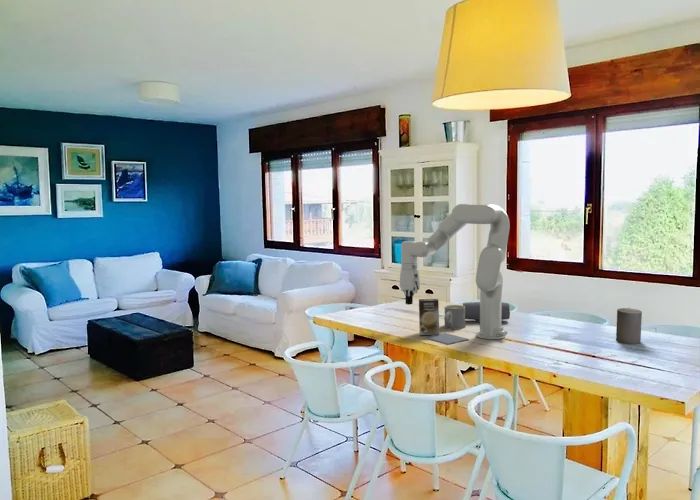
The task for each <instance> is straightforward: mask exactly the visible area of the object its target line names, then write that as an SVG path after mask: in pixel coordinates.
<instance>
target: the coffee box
mask: <svg viewBox="0 0 700 500" xmlns="http://www.w3.org/2000/svg"><path fill="white" fill-rule="evenodd" d="M439 310H440V308H439V299H438V298H422V299H421V298H418V319H419V320H418V321H419V335H420V336H432V335H439V334H440V312H439Z"/></svg>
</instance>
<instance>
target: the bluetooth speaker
mask: <svg viewBox="0 0 700 500" xmlns="http://www.w3.org/2000/svg"><path fill="white" fill-rule="evenodd" d="M462 306H465V320H467V321H468V320H471V321H475V322H476V323H480V301H477V302H474V301H473V302H472V301H471V302H464V303H463V302H462ZM510 316H511V311H510V304H509V303H508V302H502V303H501V321H504V320H510Z"/></svg>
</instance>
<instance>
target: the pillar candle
mask: <svg viewBox="0 0 700 500" xmlns="http://www.w3.org/2000/svg"><path fill="white" fill-rule="evenodd" d="M642 313H643V311H642V310H641V309H636V308H630V307H623V308H617V309H616V330H615V331H616V333H615V336H616V338H615V341H616V342H617V343H620V344H621V343H622V344H625V345H626V344H628V345H638V344H641V339H642V320H643V319H642V316H643V315H642Z"/></svg>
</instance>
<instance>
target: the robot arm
mask: <svg viewBox="0 0 700 500" xmlns="http://www.w3.org/2000/svg"><path fill="white" fill-rule="evenodd" d="M469 224H471V225H472V224H473V225H490V228H489V231H488V232H489V233H488V237H487V244H486V246H485V247H484V248H483V249H482V251H481V252H480V254H479V257H478V262H477V269H476V274H475V285H476V286H477V288H478V289H479V291H480V293H479V302H480V322H479V331H477V332H476V334H475V335H476V338H477V337H478V338H480V339H485V340H500V339H503V338H505V337H506V336H507V335H508V331H507V330H504V327H503V326H502V320H501V303H503V301H502V300H503V299H502V296H503V295H502V294H503V282H504V281H503V279H504V278H503V274H502V272H501V271H500V270H501V265H502V263H503V262H504V261H505V259H506V252H507V249H508V247H507V246H508V240H509V235H510V229H511V227H510V226H511V225H510V218H509V215H508V214H507V212H506V211H505V210H504V209H503V208H502V207H500V206H499V205H496V204H492V203H491V204H469V203H459V204H457V205H455V206H454V207H453V208H452V210H451V213H450V214H448V216H446V217H445V218H444V219H443V220H442V221H440V222H439V224H438V228H437V229H436V231H434V233H432V235H430V236H429V237H428V238H427V239H426V240H423V241H422V240H421V241H415V240H404V241H402V242H401V246H400V247H401V249H400V251H401V254H400V255H401V258H400V259H401V262H400V263H401V267H400V268H401V269H400V275H399V288H400V290H401V292H403V293H404V296H405V305H413V303H414V302H413V300H414V299H413V297H414V295H415V294H418V291H419V290H420V287H421V286H420V274H419V269H418V258H427V257H429V256H432V255H434V254H435V253H437V252H438V251H439V250H440V249H441V248H442V247H443V246H445V244H447V242H449V241H450V240H451V239H452V238H453V237H454V236H455V235H456V234H458V232H459V231H460V230H462V229H463V228H464V227H465V226H467V225H469Z"/></svg>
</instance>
